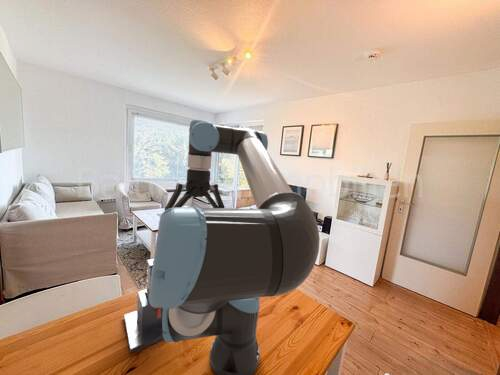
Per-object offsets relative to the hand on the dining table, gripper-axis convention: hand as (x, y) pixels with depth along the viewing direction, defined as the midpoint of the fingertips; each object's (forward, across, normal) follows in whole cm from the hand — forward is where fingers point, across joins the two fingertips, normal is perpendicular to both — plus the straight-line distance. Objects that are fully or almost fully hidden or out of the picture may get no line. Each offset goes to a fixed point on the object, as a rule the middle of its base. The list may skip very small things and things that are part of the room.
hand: (195, 230), depth 72 cm
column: (+33, +12, -4) cm, 35 cm away
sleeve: (+34, +12, -4) cm, 37 cm away
